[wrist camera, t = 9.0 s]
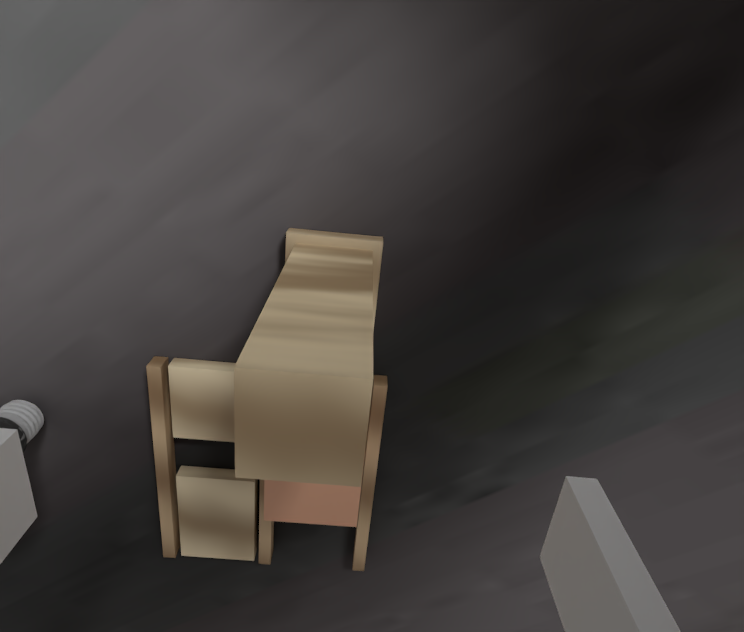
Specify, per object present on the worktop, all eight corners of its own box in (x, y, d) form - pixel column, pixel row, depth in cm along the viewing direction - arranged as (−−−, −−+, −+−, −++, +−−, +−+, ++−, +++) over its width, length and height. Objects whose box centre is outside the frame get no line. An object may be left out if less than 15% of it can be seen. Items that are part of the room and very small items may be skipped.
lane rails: (154, 356, 30) (146, 366, 29) (386, 375, 31) (387, 386, 30) (169, 542, 36) (163, 557, 35) (364, 556, 37) (363, 571, 36)
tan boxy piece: (288, 227, 27) (215, 350, 14) (382, 236, 28) (392, 365, 15) (281, 455, 33) (225, 683, 20) (358, 461, 34) (350, 691, 21)
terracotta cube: (281, 390, 30) (265, 444, 26) (366, 397, 30) (365, 452, 26) (279, 459, 32) (263, 520, 28) (358, 465, 32) (356, 527, 28)
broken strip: (174, 357, 30) (168, 366, 30) (259, 365, 31) (255, 373, 30) (186, 544, 36) (181, 555, 36) (257, 549, 37) (254, 560, 36)
